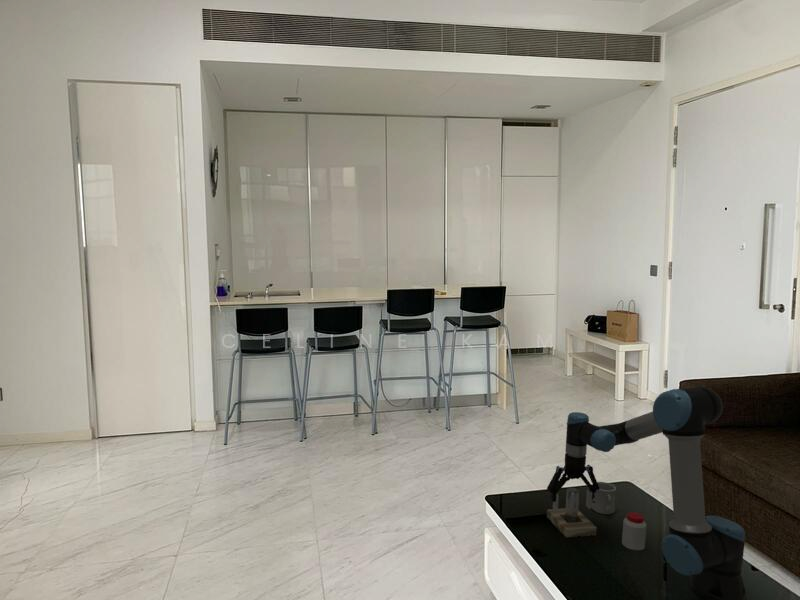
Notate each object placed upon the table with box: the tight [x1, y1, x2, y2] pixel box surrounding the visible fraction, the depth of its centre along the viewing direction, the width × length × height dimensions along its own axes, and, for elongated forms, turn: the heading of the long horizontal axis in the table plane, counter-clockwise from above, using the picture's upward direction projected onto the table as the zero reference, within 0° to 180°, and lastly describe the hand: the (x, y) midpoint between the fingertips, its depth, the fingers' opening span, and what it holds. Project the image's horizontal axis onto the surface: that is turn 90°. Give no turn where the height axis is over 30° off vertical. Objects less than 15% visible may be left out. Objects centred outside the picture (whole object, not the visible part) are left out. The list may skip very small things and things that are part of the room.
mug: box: [591, 481, 617, 515], centre depth 237 cm, size 12×9×10 cm
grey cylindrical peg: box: [565, 487, 580, 523], centre depth 225 cm, size 5×5×14 cm
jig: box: [546, 507, 598, 538], centre depth 225 cm, size 16×12×3 cm
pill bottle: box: [621, 511, 648, 551], centre depth 212 cm, size 8×8×11 cm
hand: (571, 508), depth 225 cm, fingers open, 13 cm apart
